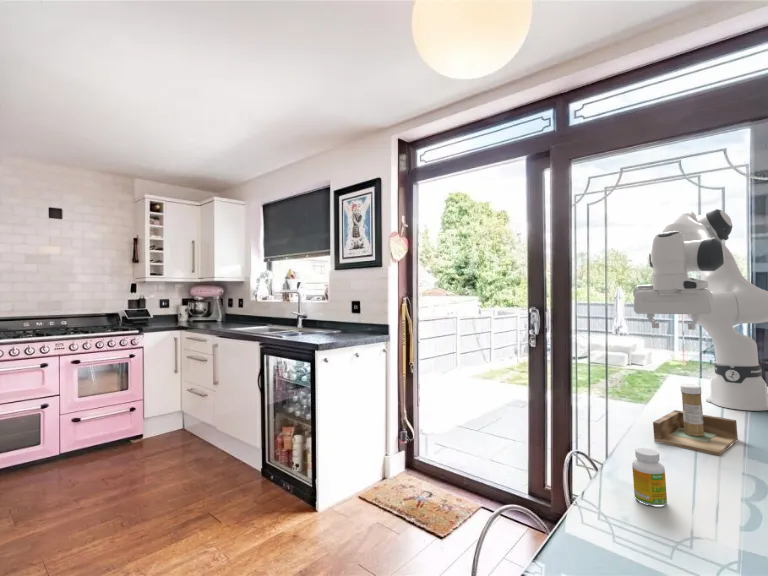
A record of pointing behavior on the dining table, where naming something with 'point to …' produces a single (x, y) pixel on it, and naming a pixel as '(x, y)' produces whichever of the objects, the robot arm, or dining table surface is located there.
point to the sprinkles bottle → (692, 409)
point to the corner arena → (714, 440)
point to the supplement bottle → (649, 477)
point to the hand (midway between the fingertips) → (673, 328)
